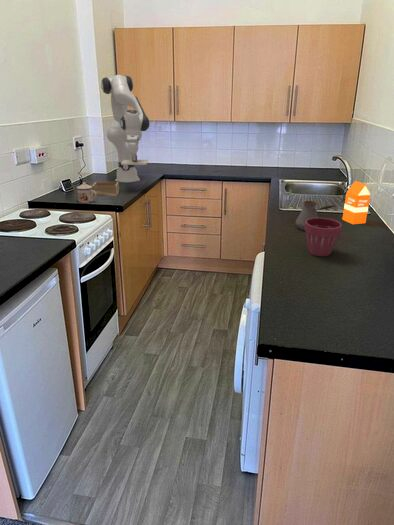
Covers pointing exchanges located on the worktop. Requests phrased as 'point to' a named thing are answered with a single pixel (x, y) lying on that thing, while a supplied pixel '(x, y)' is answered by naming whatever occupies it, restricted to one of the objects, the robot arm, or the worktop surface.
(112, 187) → the box
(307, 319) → the worktop surface
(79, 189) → the teacup with lid
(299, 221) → the coffee pot
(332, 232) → the plant pot
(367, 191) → the orange juice
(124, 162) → the lid
